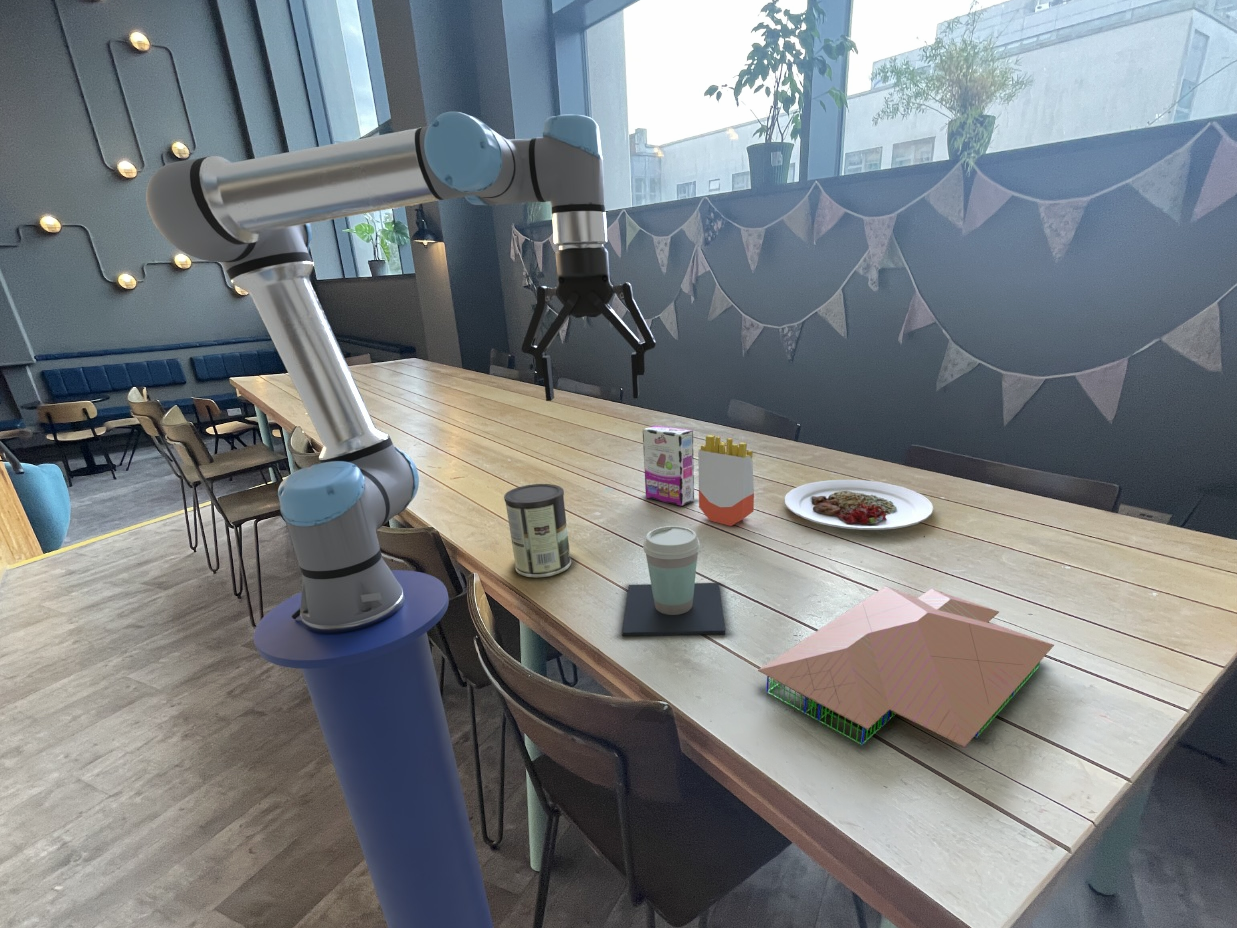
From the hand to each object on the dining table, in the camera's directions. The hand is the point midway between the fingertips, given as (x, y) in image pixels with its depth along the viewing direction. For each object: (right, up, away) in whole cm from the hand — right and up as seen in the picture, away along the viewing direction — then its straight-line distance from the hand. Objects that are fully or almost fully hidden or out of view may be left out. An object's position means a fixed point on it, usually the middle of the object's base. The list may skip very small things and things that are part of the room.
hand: (593, 398), depth 96 cm
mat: (+13, -33, 0) cm, 36 cm away
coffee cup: (+13, -33, -1) cm, 35 cm away
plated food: (+53, -15, +35) cm, 65 cm away
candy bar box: (+13, -12, +46) cm, 50 cm away
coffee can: (-11, -27, +16) cm, 33 cm away
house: (+42, -40, -18) cm, 61 cm away
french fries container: (+25, -18, +33) cm, 45 cm away
